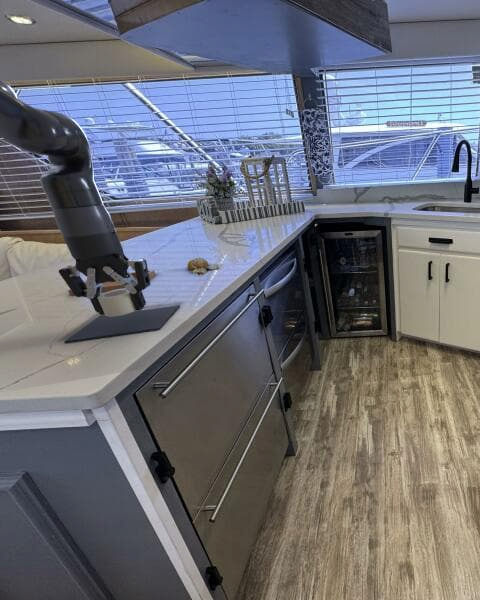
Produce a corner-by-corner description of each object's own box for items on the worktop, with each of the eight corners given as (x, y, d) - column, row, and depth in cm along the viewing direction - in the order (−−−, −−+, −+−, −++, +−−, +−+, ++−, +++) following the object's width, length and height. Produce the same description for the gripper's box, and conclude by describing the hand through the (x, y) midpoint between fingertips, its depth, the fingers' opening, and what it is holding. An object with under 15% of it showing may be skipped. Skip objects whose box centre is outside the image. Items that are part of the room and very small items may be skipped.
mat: (64, 343, 61) (63, 341, 61) (100, 316, 72) (99, 315, 72) (159, 329, 65) (158, 328, 65) (180, 306, 76) (179, 305, 75)
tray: (71, 298, 84) (67, 290, 83) (97, 283, 94) (94, 276, 94) (138, 290, 87) (135, 283, 86) (156, 276, 98) (154, 270, 97)
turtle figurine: (198, 275, 97) (195, 263, 96) (180, 273, 100) (177, 261, 99) (222, 267, 104) (219, 256, 103) (204, 265, 107) (201, 254, 106)
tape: (99, 318, 64) (90, 300, 62) (114, 307, 69) (106, 290, 68) (132, 314, 65) (125, 296, 64) (145, 303, 70) (138, 286, 69)
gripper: (27, 238, 56) (70, 324, 62) (123, 230, 59) (154, 313, 65) (56, 230, 62) (93, 309, 69) (141, 224, 65) (168, 299, 72)
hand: (123, 310), depth 67 cm, fingers closed on tape, 6 cm apart
